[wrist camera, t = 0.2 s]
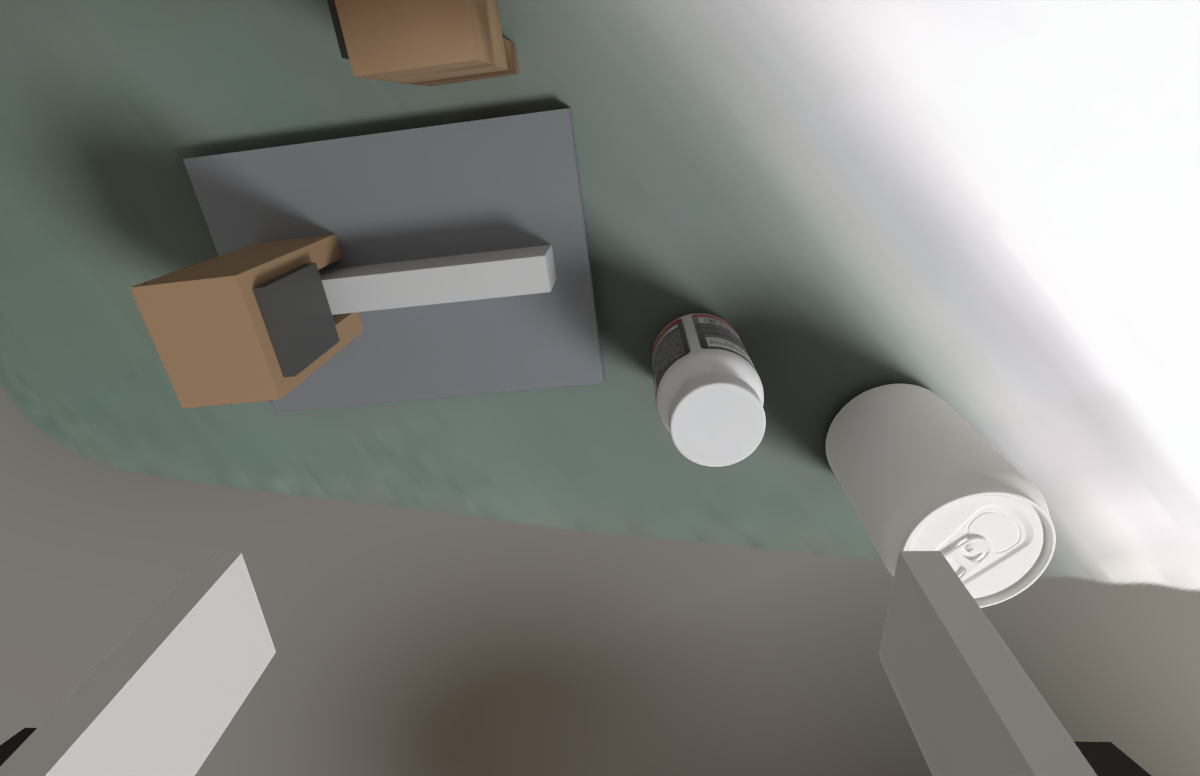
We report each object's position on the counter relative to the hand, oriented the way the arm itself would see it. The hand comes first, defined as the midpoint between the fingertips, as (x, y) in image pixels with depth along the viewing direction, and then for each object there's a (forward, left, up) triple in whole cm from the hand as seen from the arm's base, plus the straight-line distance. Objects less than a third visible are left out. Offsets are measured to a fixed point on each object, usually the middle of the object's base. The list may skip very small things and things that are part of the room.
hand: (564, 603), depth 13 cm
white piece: (+13, +17, -27) cm, 35 cm away
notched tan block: (-14, -6, -27) cm, 31 cm away
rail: (-1, -12, -27) cm, 30 cm away
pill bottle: (+6, +5, -27) cm, 28 cm away
